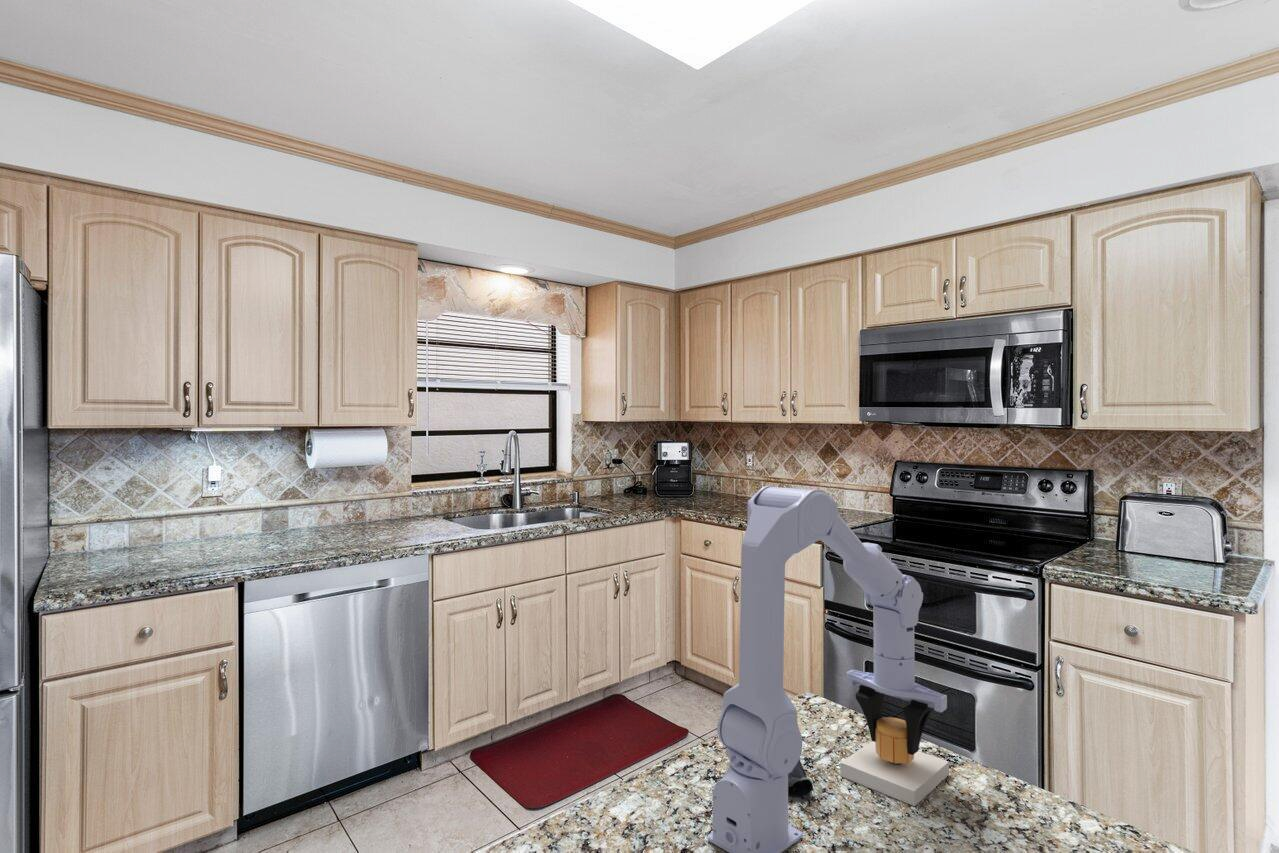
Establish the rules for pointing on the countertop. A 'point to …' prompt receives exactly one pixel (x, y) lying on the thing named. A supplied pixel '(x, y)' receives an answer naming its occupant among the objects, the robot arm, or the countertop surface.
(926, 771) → the white base plate
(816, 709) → the countertop surface
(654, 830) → the countertop surface
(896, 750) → the orange acorn nut
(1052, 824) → the countertop surface
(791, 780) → the electronic device
